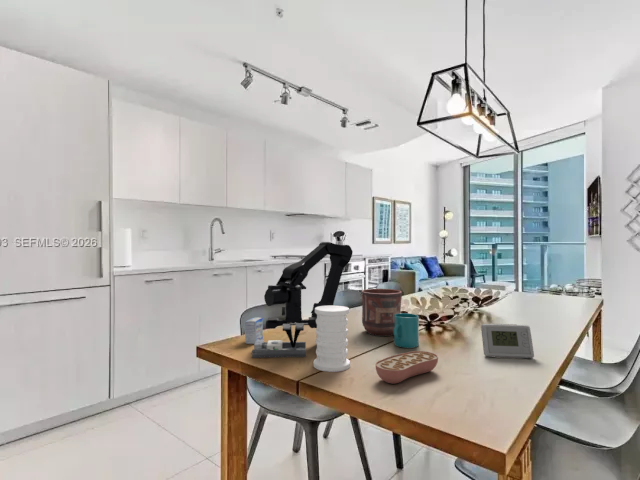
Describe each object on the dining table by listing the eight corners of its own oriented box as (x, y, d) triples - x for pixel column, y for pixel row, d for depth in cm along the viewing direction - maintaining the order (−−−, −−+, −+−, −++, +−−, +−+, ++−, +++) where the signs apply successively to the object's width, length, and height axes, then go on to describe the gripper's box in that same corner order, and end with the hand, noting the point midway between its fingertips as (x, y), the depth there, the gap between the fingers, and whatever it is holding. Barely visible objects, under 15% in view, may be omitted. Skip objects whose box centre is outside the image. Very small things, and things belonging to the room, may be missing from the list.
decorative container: (314, 359, 123) (314, 305, 124) (349, 359, 123) (349, 305, 123) (312, 371, 112) (312, 311, 112) (351, 372, 111) (351, 311, 112)
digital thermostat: (482, 357, 126) (482, 326, 126) (480, 350, 135) (480, 320, 135) (536, 362, 121) (536, 329, 121) (530, 354, 129) (530, 324, 129)
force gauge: (282, 346, 134) (282, 339, 134) (281, 353, 125) (281, 346, 126) (264, 346, 134) (264, 339, 134) (261, 353, 125) (261, 346, 125)
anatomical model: (394, 391, 97) (394, 372, 97) (366, 380, 105) (366, 363, 105) (444, 372, 112) (444, 356, 112) (416, 364, 119) (416, 348, 119)
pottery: (411, 334, 158) (411, 291, 158) (381, 339, 148) (380, 294, 149) (382, 326, 173) (382, 287, 173) (352, 331, 163) (352, 290, 163)
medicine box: (255, 344, 142) (255, 321, 142) (244, 343, 143) (244, 321, 143) (263, 339, 149) (263, 317, 149) (252, 338, 150) (252, 317, 150)
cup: (384, 346, 139) (384, 316, 139) (403, 340, 147) (403, 312, 147) (405, 351, 133) (405, 320, 133) (423, 345, 141) (423, 315, 141)
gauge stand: (305, 348, 136) (305, 337, 136) (305, 356, 126) (306, 345, 126) (255, 349, 135) (255, 338, 135) (252, 357, 125) (252, 345, 125)
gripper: (318, 299, 139) (318, 340, 139) (268, 299, 139) (268, 341, 139) (320, 304, 128) (320, 349, 128) (265, 304, 127) (265, 350, 127)
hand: (293, 347), depth 131 cm, fingers closed
